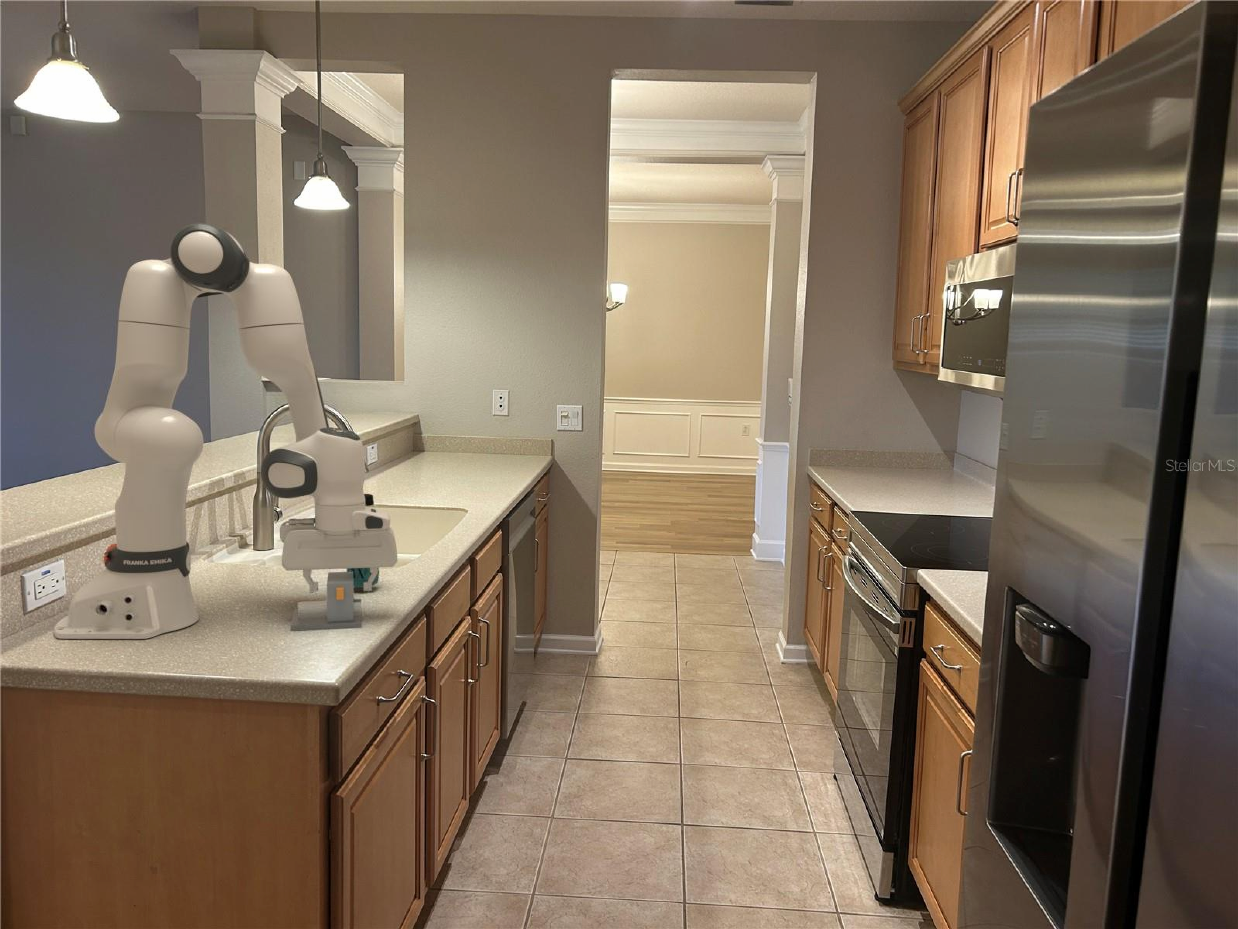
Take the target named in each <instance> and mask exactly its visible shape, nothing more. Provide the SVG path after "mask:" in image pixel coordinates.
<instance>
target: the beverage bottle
mask: <svg viewBox="0 0 1238 929" xmlns="http://www.w3.org/2000/svg"><path fill="white" fill-rule="evenodd" d="M364 496H365V506H367V507H371V506H374V505H375V504H374V495H373V494H372V493H364ZM346 572H353V587H360V588H361V587H363V588H364V580H368V579H369V577H370V575H371V574H372V573H370V568H346ZM379 579H380V567H378V574H377V575H376V577H375V579H374V580H373V582H372V586H374V585H377V584H378V582H379Z"/></svg>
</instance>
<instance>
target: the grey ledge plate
mask: <svg viewBox="0 0 1238 929" xmlns="http://www.w3.org/2000/svg"><path fill="white" fill-rule="evenodd" d="M353 611H354V620H350V621H331V622H327V600H315V601H313V600H312V601H311V600H310V601H309V600H308V601H299V602H297V608H295V609H294V610H293V614H292V619H291V621H290V622H291V624H290V632H298V631H318V630H337V629H351V628H353V629H356V628H362V598H359V599H358V598H356V599H353Z"/></svg>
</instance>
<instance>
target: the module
mask: <svg viewBox="0 0 1238 929" xmlns="http://www.w3.org/2000/svg"><path fill="white" fill-rule="evenodd" d="M354 588H355V586H353V572H347V571H337V572H336V571H333V572H332V571H331V572H327V581H326V601H327V622H331V621H350V620H354V611H353V599H354V598H355V597H354V596H355V595H354V592H355V591H354Z"/></svg>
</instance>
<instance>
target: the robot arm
mask: <svg viewBox="0 0 1238 929" xmlns="http://www.w3.org/2000/svg"><path fill="white" fill-rule="evenodd" d="M223 294H224V295H226V296H228V297H229V299H230V300H231V302H232V304H233V307H234V310H235V314H236V321H237V328H238V335H239V340H240V346H241V350H242V354H243V356H244V359H245V360H246V363H247V365H248V366H249V367H250V368H251V369H252V370H253V371H254V372H255V373H257V374H258V375H259V376H261V377H263V378H264V379H267V380H269V381H270V382H271V383H272V384H274V385H275V386H276V387H278V388H279V389H280V391H282V393H283V395H284V397H285V399H286V401H287V404H288V408H289V413H290V416H291V421H292V425H293V429H294V433H295V442H293V443H289V444H286V445H283V446H280V447H277V448H275V449H273V450H271V451H269V452H268V453H267V454H266V455H265V456H264V458H263V460H262V462H261V466H260V477H261V481H262V484H263V486H264V487H265V489H266V490H267V491H268V492H269V493H270V495H271V494H272V496H275V497H277V498H280V499H287V500H288V499H298V498H300V497H305V496H311V497H312V498H313V499H314V517H310V518H309V517H307V518H305V517H304V518H289V519H288V520H286V521H284V522H283V523H281V525H280V527H279V539H280V541H281V542H282V543H283V548H282V553H281V554H282V556H281V567H282V568H284V570H286V571H287V572H288V571H302V576H303V577H302V578H303V579H304V580H305V581H306V583H307V584H308V586H309V594H318V593H319V581H314V580H313V578H312V576H311V575H312V571H313V570H314V571H315V570H317V571H318V570H338V569H339V570H340V569H341V570H342V569H346V570H347V568H370V573H372V574H371V575H370V577H369V579H368V580H364V586H363V592H372V590H373V589H372V588H373V585H372V582H373V580H374V579H375V577H376V575H377V574H378V567H379V568H393V567H395V566H396V564H397V563H398V550H397V542H396V538H395V533H394V531H393V528H392V527H391V526H390V524H391V517H390V514H389V513H388V512H387V511H384V510H380V509H377V508H374V507H371V506H365V496H364V494H365V493H364V484H365V480H366V463H365V460H366V458H365V452H364V450H365V449H364V446H363V441H362V439H361V437H360V436H359V435H358V434H357V433H355V432H354V431H353V430H350V429H346V428H340V427H333V426H331V427H330V424H329V421H328V420H329V419H328V416H327V412H326V411H327V410H326V408H325V404H324V400H323V395H322V390H321V386H320V382H319V379H318V374H317V372H316V370H315V366H314V364H313V361H312V358H311V355H310V351H309V346H308V342H307V341H308V340H307V334H306V328H305V322H304V317H303V311H302V308H301V303H300V300H299V296H298V292H297V289H296V286H295V283H294V281H293V278H292V277H291V274H290V273H289V272H288V271H287V270H286V269H285V268H283V267H281V266H279V265H276V264H273V263H272V264H271V263H254V262H251V261H250V259H249V257H247V254H246V252H245V250H244V249H243V247H242V246H241V244H240V242H239V241H238V240H237V239H236V238H235V237H234V236H233V235H232V234H230V233H229V232H228V231H225V230H224V229H222V228H221V227H220V226H217V225H214V224H212V223H207V222H196V223H192V224H188V225H186V226H183V228H181V229H179V231H177V232H176V234H174V237H173V238H172V240H171V243H170V247H169V258H167V259H163V260H160V259H146V260H142V261H139V262H135V263H134V264H133V265H131V266H130V268H129V269H128V270H127V273H126V276H125V279H124V283H123V288H122V291H121V298H120V303H119V309H118V322H117V338H116V355H115V365H114V372H113V375H112V378H111V379H112V380H111V382H110V387H109V389H108V392H107V396H106V397H107V398H106V401H105V404H104V408H103V411H102V412H101V413H100V415H99V416H98V418H97V419H96V421H95V425H94V437H95V441H96V443H97V445H98V446H99V448H101V449H102V451H103V452H104V453H106V455H108V456H109V457H110V458H112V459H113V460H115V461H117V462H119V463H123V464H124V465H125V470H124V471H125V472H124V478H123V484H122V487H121V490H120V495H119V496H118V498H117V499H116V500H115V505H114V512H115V514H114V515H115V517H114V518H115V534H116V535H115V538H116V543H113V544H110V545H109V546H108V547H107V548H106V552H104V554H103V555H104V556H102V558H103V559H102V561H103V563H104V567H105V569H103V570H102V571H101V572H99V573H98V574H97V575H95V576H94V577H92V578H91V579H90V580H89V581H87V582H86V583H85V584H84V585H82V586H81V587H80V588H79V589H78V590H76V592H75V593H74V594H73V596H72V598H71V602H70V605H69V608H68V609H69V610H68V615H66V616H64V617H63V618H61V619H60V620H59V621H58V622H57V623H56V624H55V626H54V627H53V628H54V629H53V636H54V637H55V638H57V639H63V640H64V639H66V640H67V639H68V640H69V639H72V640H73V639H79V640H81V639H82V640H87V639H89V640H90V639H91V640H94V639H95V640H96V639H98V640H99V639H101V640H106V639H107V640H114V639H115V640H124V639H125V640H145V639H150V638H154V637H156V636H159V635H161V634H166V633H170V632H173V631H176V630H182V629H184V628H186V627H189V626H192V625H193V624H195V623H197V622H198V621H199V619H200V616H199V613H198V609H197V607H196V604H195V601H194V595H193V592H192V588H191V587H192V586H191V581H190V579H191V578H190V574H191V569H192V566H191V565H192V562H191V560H192V559H191V558H192V557H191V549H190V542H188V541H187V515H186V514H187V510H186V508H187V506H186V504H187V494H188V489H189V483H190V479H191V474H192V471H193V466H194V464H196V462H197V460H199V458H200V456H201V455H202V451H203V448H204V435H203V432H202V429H201V428H200V426H199V425H198V424H197V422H195V421H194V420H193V419H191V418H190V417H189V416H187V415H186V414H185V413H183V412H181V411H179V410H176V409H174V408H173V403H174V400H175V397H176V394H177V391H178V388H179V386H180V384H181V383H182V381H183V380H184V379H185V377H186V376H187V372H188V363H189V361H188V360H189V345H190V332H191V330H190V328H191V313H192V308H193V307H192V306H193V304H194V301H195V299H196V298H199V299H200V298H205V297H210V296H217V295H218V296H219V295H223Z"/></svg>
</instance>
